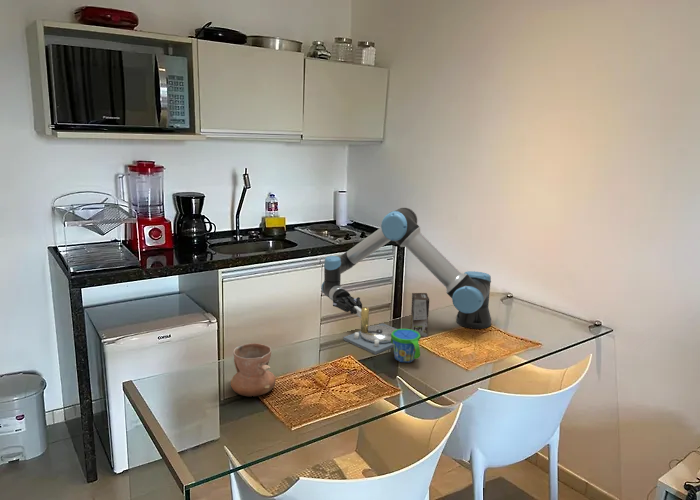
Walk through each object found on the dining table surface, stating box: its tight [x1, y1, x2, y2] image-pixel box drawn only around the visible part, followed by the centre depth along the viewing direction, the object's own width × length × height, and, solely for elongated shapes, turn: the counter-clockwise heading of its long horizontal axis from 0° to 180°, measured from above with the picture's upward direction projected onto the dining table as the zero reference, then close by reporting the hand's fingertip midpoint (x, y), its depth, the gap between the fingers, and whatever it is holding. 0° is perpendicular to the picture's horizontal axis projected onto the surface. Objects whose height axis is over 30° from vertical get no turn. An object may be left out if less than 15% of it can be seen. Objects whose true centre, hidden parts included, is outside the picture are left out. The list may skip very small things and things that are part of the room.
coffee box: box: [410, 292, 430, 337], centre depth 222 cm, size 9×6×16 cm
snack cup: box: [391, 328, 422, 364], centre depth 198 cm, size 16×10×10 cm
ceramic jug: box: [230, 342, 277, 398], centre depth 173 cm, size 18×14×14 cm
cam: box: [360, 306, 395, 343], centre depth 214 cm, size 15×15×12 cm
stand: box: [342, 322, 398, 355], centre depth 216 cm, size 18×23×4 cm
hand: (361, 314), depth 217 cm, fingers closed
